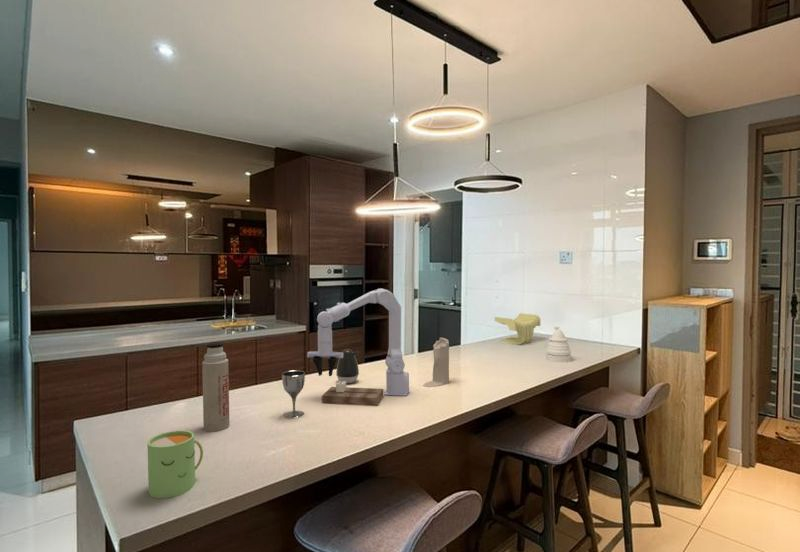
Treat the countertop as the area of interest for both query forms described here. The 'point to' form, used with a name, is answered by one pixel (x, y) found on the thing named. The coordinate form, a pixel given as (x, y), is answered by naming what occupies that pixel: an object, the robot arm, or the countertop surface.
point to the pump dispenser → (347, 367)
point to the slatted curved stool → (521, 327)
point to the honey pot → (558, 348)
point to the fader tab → (341, 386)
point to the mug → (172, 463)
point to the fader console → (353, 396)
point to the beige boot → (440, 363)
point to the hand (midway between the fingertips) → (325, 375)
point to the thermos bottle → (215, 389)
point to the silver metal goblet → (293, 389)
